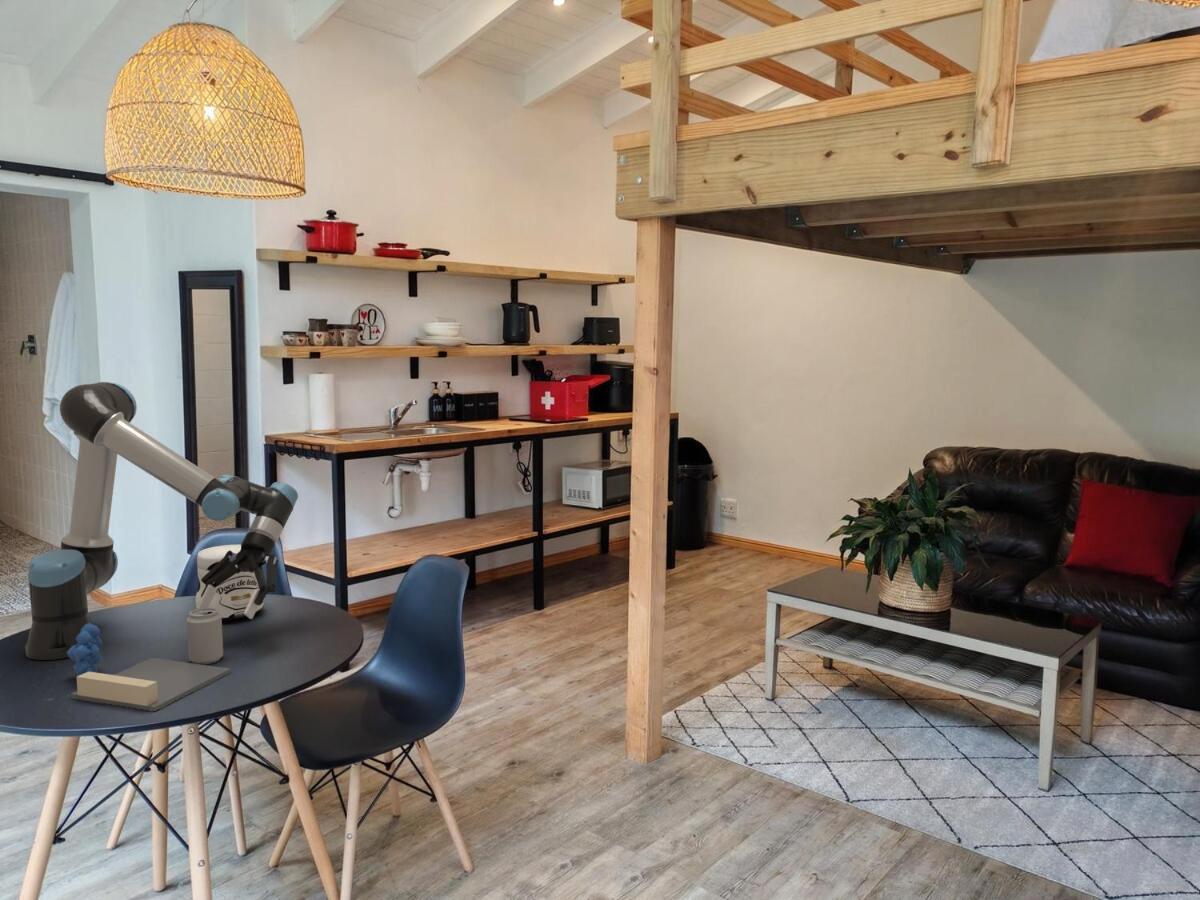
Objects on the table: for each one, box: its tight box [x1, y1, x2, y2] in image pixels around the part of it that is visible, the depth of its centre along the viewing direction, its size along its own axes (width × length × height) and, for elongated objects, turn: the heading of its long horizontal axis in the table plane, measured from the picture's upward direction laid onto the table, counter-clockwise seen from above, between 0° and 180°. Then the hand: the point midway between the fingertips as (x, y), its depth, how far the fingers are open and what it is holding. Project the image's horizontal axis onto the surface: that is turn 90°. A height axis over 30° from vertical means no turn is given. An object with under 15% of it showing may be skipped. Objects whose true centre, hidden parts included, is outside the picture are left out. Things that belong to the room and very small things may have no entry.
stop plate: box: [70, 657, 231, 712], centre depth 192 cm, size 22×22×5 cm
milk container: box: [195, 544, 265, 621], centre depth 240 cm, size 17×17×18 cm
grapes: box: [67, 623, 104, 676], centre depth 196 cm, size 12×7×12 cm, turn 12°
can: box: [186, 608, 224, 665], centre depth 207 cm, size 8×8×12 cm
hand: (223, 613), depth 211 cm, fingers open, 13 cm apart
